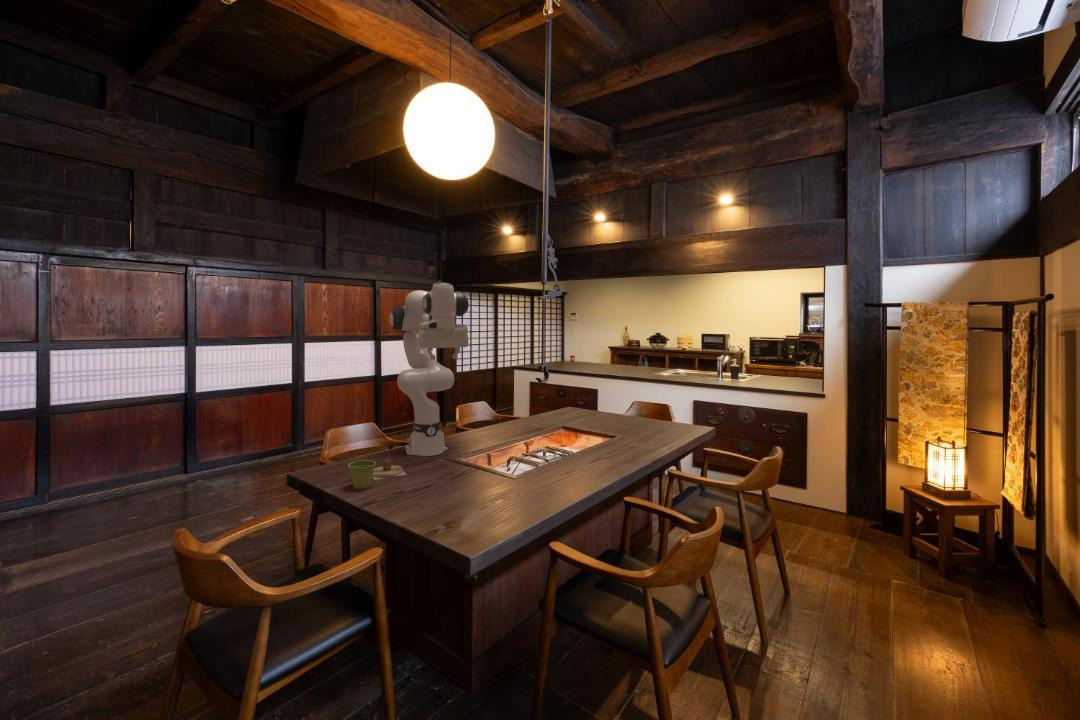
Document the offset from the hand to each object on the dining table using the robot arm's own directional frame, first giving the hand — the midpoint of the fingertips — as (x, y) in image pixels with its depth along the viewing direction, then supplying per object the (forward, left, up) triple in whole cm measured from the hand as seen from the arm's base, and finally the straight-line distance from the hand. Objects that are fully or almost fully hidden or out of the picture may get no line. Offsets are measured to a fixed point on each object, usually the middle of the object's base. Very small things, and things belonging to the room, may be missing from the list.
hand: (444, 359), depth 183 cm
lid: (-8, -21, -45) cm, 50 cm away
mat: (-8, -21, -45) cm, 51 cm away
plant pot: (+2, -32, -46) cm, 56 cm away
